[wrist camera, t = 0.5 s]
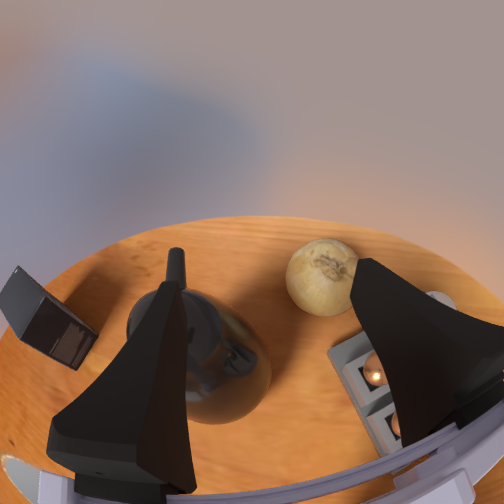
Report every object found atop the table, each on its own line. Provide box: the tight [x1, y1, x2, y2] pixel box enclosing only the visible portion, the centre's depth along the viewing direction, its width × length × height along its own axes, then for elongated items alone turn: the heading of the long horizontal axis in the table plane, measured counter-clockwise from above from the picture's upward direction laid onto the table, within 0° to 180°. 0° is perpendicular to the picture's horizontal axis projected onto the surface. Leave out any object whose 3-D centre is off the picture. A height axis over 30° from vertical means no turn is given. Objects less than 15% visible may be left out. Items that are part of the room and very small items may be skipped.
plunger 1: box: [363, 352, 388, 386], centre depth 20 cm, size 3×3×3 cm
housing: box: [327, 292, 425, 475], centre depth 21 cm, size 14×12×4 cm
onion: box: [285, 238, 359, 317], centre depth 28 cm, size 8×8×7 cm
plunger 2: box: [391, 411, 401, 437], centre depth 17 cm, size 3×3×3 cm
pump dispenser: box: [126, 247, 272, 425], centre depth 20 cm, size 10×10×15 cm
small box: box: [0, 266, 98, 371], centre depth 28 cm, size 11×6×10 cm, turn 63°
